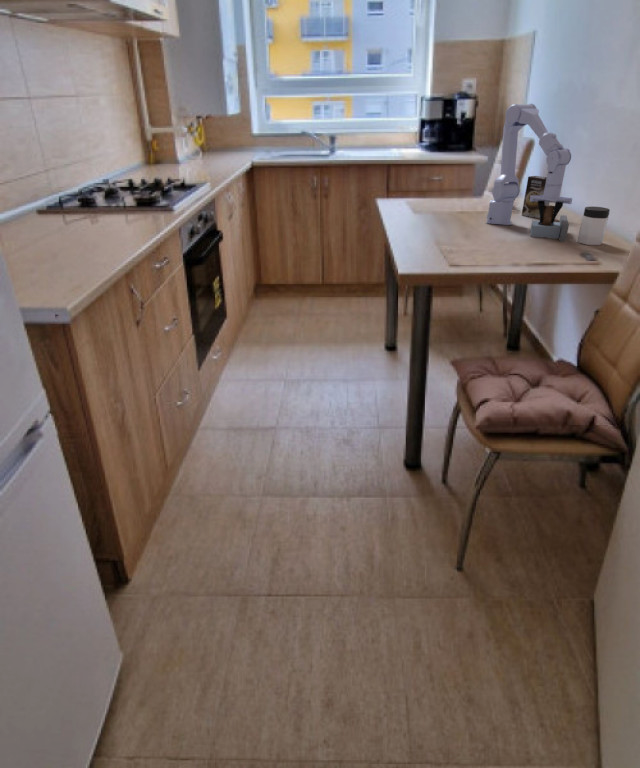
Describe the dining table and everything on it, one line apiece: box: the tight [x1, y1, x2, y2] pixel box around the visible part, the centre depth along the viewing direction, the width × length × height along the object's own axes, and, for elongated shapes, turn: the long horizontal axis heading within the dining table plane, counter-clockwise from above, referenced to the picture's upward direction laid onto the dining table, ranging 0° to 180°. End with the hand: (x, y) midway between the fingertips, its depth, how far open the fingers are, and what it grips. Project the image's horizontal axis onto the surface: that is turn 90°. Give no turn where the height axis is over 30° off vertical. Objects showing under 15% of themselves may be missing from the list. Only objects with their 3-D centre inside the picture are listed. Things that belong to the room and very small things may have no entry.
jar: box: [576, 206, 611, 246], centre depth 205 cm, size 9×8×12 cm
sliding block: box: [529, 219, 561, 239], centre depth 217 cm, size 10×10×4 cm
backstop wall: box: [558, 214, 570, 242], centre depth 215 cm, size 2×18×6 cm, turn 162°
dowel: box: [541, 204, 555, 226], centre depth 215 cm, size 4×4×8 cm
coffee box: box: [521, 175, 551, 219], centre depth 246 cm, size 9×6×16 cm
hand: (546, 222), depth 216 cm, fingers closed on dowel, 3 cm apart
